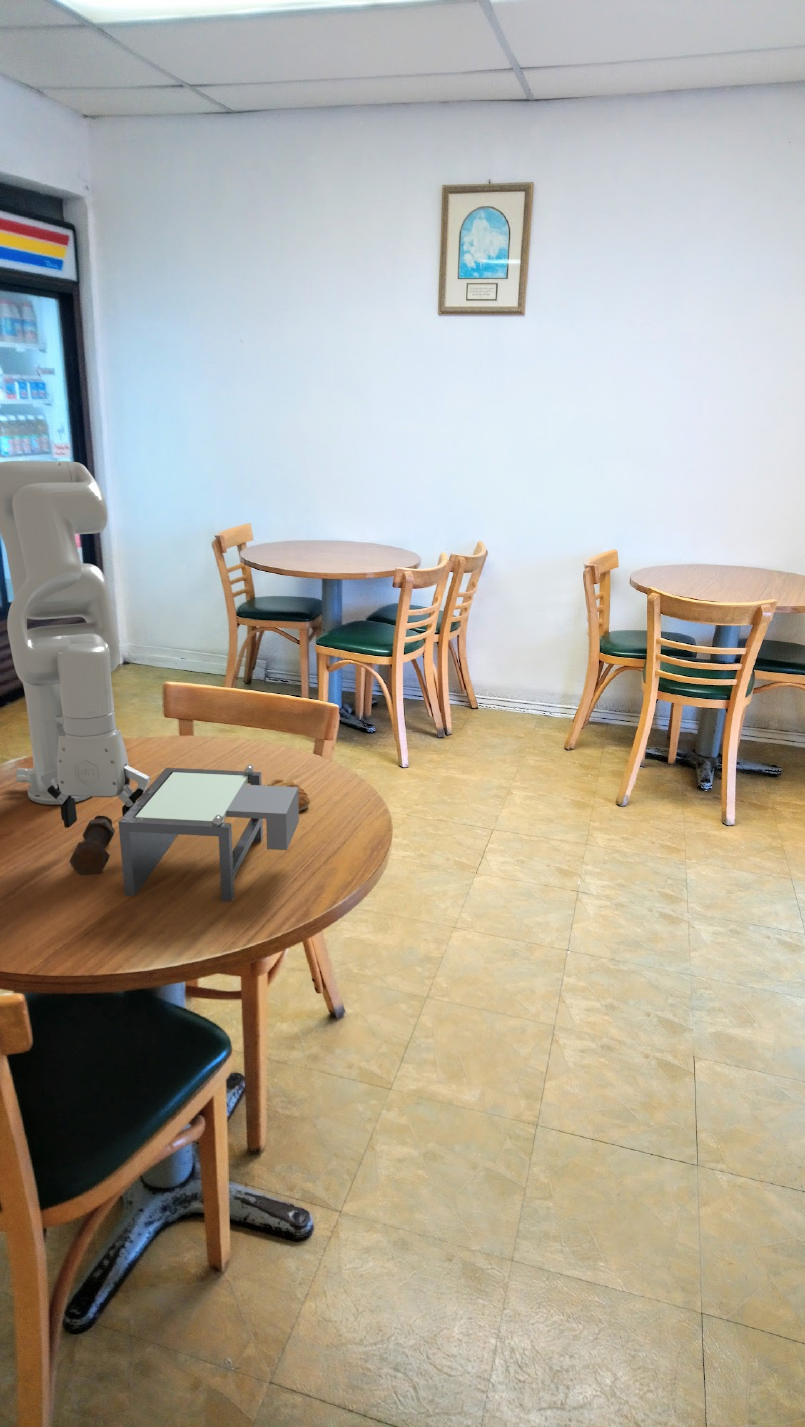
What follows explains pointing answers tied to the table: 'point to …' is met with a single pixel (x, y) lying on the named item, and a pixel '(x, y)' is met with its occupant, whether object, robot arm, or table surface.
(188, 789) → the trapdoor
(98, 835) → the bolt
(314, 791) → the table surface
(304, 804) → the pastry
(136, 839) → the frame
